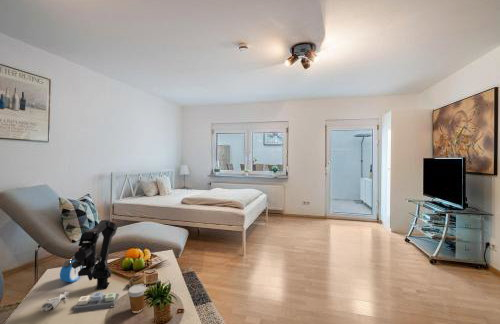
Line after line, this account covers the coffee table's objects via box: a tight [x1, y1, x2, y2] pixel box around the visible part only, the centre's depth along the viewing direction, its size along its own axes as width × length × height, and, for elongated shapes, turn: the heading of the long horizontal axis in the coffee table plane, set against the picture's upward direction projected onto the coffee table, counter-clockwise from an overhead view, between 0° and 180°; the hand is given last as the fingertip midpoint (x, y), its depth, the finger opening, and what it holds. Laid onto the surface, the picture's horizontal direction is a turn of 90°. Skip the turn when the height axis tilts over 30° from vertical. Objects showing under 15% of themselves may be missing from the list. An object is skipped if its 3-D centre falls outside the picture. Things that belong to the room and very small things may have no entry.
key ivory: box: [77, 295, 91, 305], centre depth 136 cm, size 4×4×2 cm
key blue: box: [91, 291, 104, 301], centre depth 137 cm, size 4×4×2 cm
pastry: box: [128, 272, 145, 289], centre depth 158 cm, size 13×15×8 cm
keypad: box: [73, 293, 120, 313], centre depth 138 cm, size 11×19×2 cm, turn 106°
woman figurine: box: [40, 290, 70, 312], centre depth 137 cm, size 12×4×18 cm
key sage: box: [105, 292, 117, 302], centre depth 139 cm, size 4×4×2 cm
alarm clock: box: [59, 256, 84, 284], centre depth 160 cm, size 13×6×15 cm, turn 178°
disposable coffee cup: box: [127, 284, 148, 311], centre depth 133 cm, size 10×10×12 cm
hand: (90, 280), depth 140 cm, fingers closed
